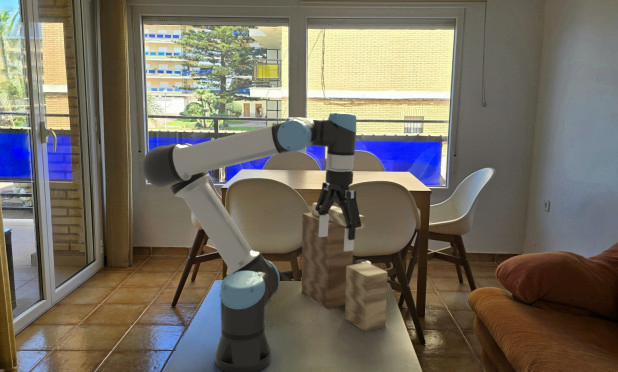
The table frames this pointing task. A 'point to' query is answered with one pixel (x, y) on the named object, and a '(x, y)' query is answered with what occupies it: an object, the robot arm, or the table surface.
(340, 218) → the wooden block
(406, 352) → the table surface
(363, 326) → the base pedestal
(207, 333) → the table surface
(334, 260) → the stand
